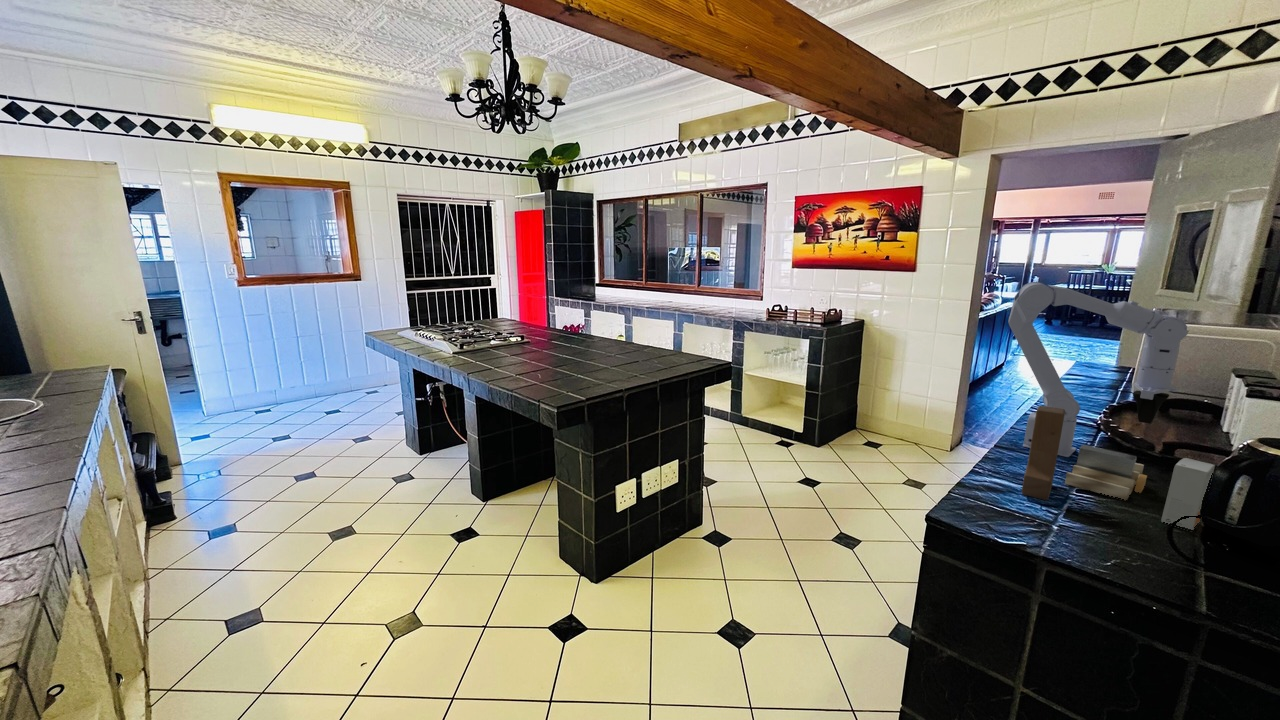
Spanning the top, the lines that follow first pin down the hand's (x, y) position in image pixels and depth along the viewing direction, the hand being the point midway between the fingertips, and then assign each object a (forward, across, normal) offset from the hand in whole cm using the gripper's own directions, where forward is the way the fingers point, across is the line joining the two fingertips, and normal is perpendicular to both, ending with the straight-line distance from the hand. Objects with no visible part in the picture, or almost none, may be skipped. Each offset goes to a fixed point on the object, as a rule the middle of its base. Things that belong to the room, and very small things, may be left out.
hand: (1144, 422), depth 117 cm
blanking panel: (+10, -18, +3) cm, 20 cm away
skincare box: (+11, -30, -10) cm, 33 cm away
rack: (+10, -18, +3) cm, 21 cm away
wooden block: (+11, -35, +11) cm, 38 cm away
